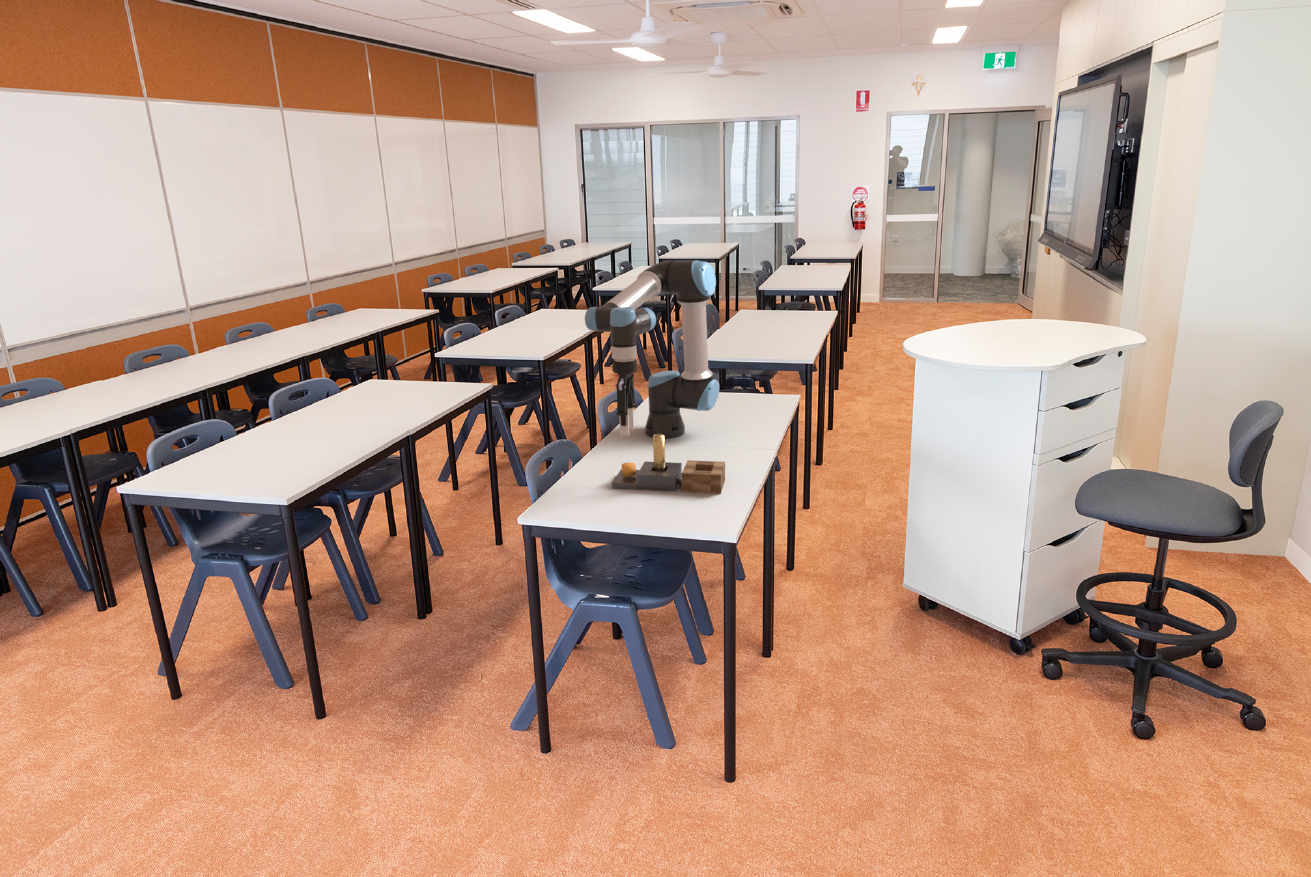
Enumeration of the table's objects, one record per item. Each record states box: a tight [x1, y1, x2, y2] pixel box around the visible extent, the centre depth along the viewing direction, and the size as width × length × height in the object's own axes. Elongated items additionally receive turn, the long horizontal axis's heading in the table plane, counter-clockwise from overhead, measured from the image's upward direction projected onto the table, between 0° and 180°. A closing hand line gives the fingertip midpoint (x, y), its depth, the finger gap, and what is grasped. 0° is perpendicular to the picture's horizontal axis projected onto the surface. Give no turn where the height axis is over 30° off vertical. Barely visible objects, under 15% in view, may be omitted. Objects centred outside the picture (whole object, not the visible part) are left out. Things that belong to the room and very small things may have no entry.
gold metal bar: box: [652, 434, 666, 472], centre depth 249 cm, size 4×4×16 cm
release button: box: [621, 461, 637, 476], centre depth 252 cm, size 4×4×3 cm
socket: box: [611, 461, 683, 492], centre depth 251 cm, size 12×20×5 cm, turn 79°
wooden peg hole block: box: [681, 459, 726, 495], centre depth 247 cm, size 12×12×6 cm
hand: (627, 431), depth 248 cm, fingers open, 6 cm apart
